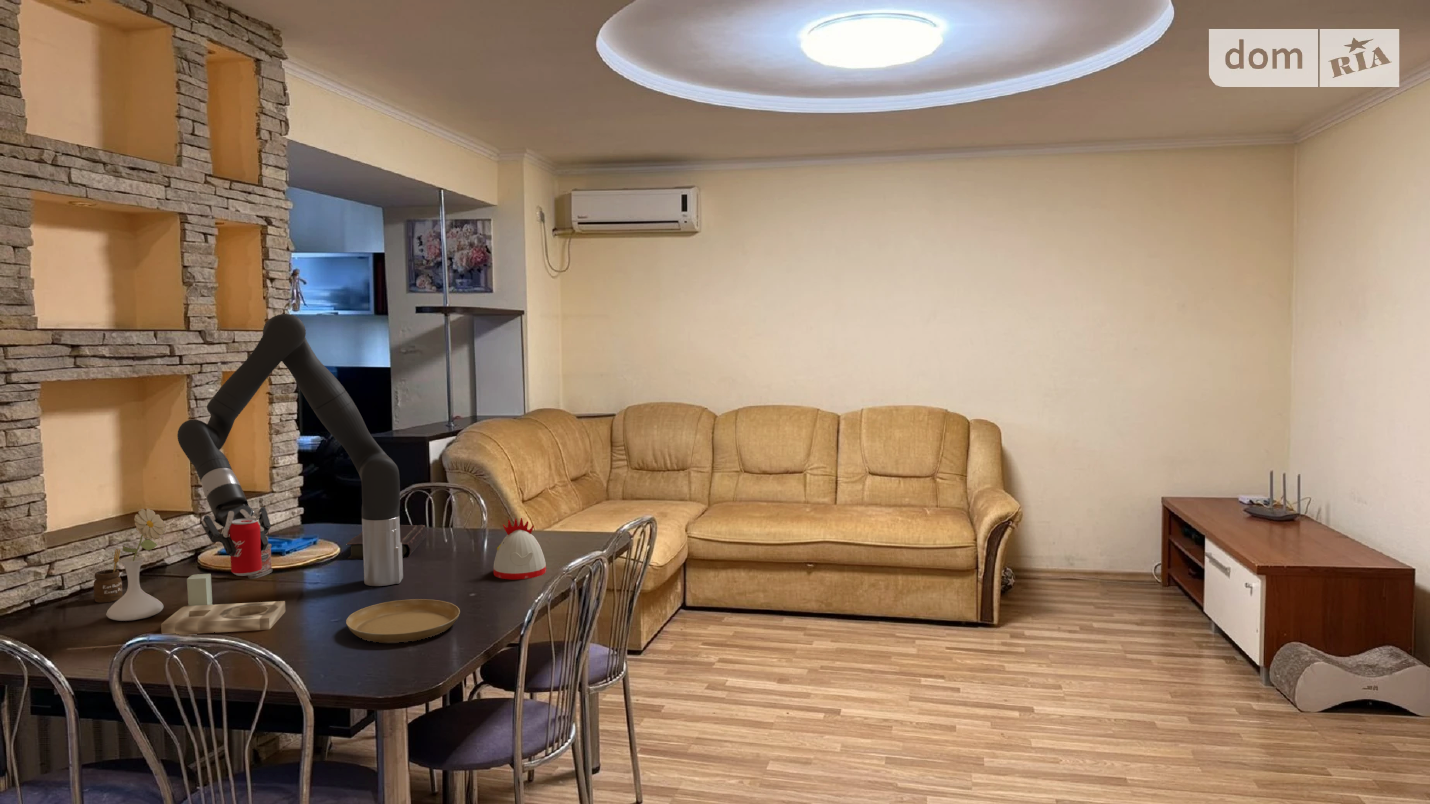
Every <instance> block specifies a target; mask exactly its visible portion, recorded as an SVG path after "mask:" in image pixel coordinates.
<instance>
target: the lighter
mask: <svg viewBox="0 0 1430 804" xmlns="http://www.w3.org/2000/svg"><path fill="white" fill-rule="evenodd" d="M265 536H266V538H267V540H268V541H269V536H268V535H265ZM271 548H272V544H271V543H268V545H267V547H266V549H265V550H262V551H261V559H262V569H261V570H260V571H259V572H258V573H256V574H253V575H247V577H248V578H247V579H257V578H261V577H264V576H266V575H269V574H270V573H272V572H273V567H272V549H271Z"/></svg>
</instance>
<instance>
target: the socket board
mask: <svg viewBox="0 0 1430 804" xmlns="http://www.w3.org/2000/svg"><path fill="white" fill-rule="evenodd" d="M285 613H286V600H280V601H279V600H278V601H262V602H261V601H260V602H259V601H257V602H242V603H236V602H235V603H220V604H212V605H197V606H188V605H184V606H181V607H180V608H179V609H178V610H177V611H175V612H174V613H173V614H172V615H170V616H169V617H167V618H166V619H165V620H164V621H163V622H162V623H161V624H160V626H161V627H160V628H161V629H160V630H161V634H162V633H176V634H179V635H194V634H211V633H214V632H215V633H228V632H231V633H232V632H233V633H234V632H248V631H266V630H267V631H268V630H271V628H272V627H273V626H274V625H275V624H276V623H277V622H278V621H279V620H280V618H281V617H282V616H283V615H284V614H285ZM215 633H214V634H215Z"/></svg>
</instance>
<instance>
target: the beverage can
mask: <svg viewBox="0 0 1430 804" xmlns="http://www.w3.org/2000/svg"><path fill="white" fill-rule="evenodd" d="M229 532H230V534H229V538H230V537H231V539H232V541H233V544H234V546H235V548H236V553H235V555H234V556H230V570H231V571H230V573H232V574H234V575H236V576H241V577H243V576H247V577H248V575H253V574H256V573H258V572H259V571H260V570H261V569H262V559H261V537H260V523H259V521H258V520H257V519H256V518H255V517H253V518H245V519H237V520H234V521H232V524H231V526H230V528H229Z"/></svg>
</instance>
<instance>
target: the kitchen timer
mask: <svg viewBox="0 0 1430 804" xmlns="http://www.w3.org/2000/svg"><path fill="white" fill-rule="evenodd" d="M502 526H503V528H504V530H505V533H506V536H505V537H504V538H503V539H502V541H501V543H499V546H498V547H496V553H495V558H494V561H493V576H494V577H496V578H499V579H501V580H504V579H505V580H527V579H533V578H537V577H540V576H543V575H544V574H545V573H546V572H547V565H546V564H547V563H546V559H545V555H544V553H543V550H542V547H541V545H540V544H539V542H538V540H537V538H536V537H535V536H534V535H533V534H532V532H533V530H534V525H531V527H530V528H529V529H528V526H529V521H526V522H525V524H524V521H523V518H522V517H521V518H520V520H519V525H518V520H517V518H516V517H515V518H514V523H513V526H512V524H511V520H510V519H509V518H508V519H507V526H506V525H505V524H503V523H502Z"/></svg>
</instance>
